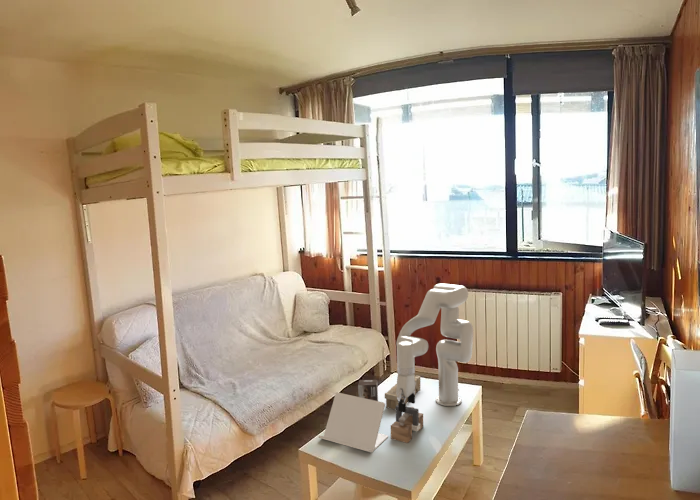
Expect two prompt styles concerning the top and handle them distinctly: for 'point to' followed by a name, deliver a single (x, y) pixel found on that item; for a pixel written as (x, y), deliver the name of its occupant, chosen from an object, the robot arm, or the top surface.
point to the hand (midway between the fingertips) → (406, 407)
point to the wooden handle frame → (404, 427)
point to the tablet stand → (355, 422)
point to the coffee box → (368, 389)
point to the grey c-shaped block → (415, 416)
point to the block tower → (392, 394)
